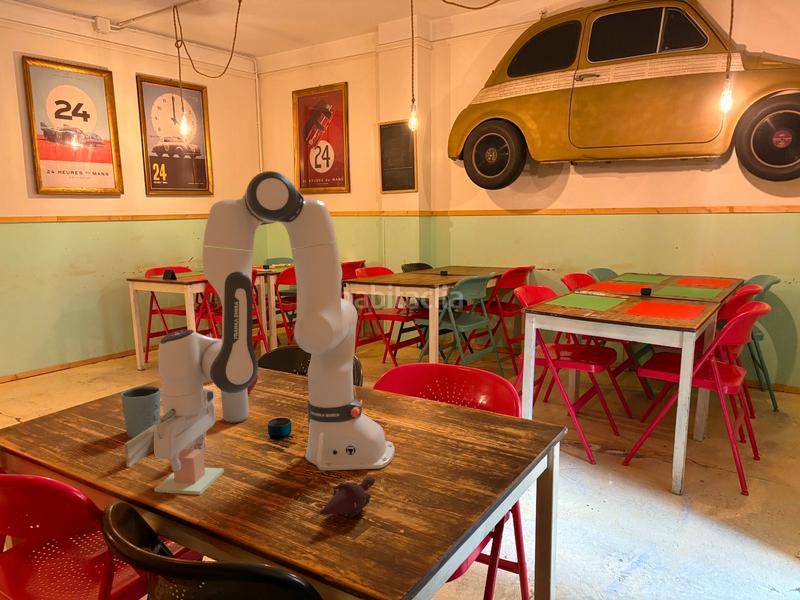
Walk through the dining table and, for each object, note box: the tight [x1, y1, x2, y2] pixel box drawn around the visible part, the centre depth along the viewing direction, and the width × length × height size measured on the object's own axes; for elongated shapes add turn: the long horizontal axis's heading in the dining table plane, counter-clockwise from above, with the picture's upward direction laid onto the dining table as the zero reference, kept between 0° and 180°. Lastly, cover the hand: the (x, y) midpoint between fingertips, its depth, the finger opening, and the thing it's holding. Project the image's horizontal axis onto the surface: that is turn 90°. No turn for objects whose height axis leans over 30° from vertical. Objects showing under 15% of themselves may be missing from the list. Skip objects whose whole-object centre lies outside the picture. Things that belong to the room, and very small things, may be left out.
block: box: [173, 449, 206, 483], centre depth 128 cm, size 5×4×6 cm
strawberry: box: [247, 375, 259, 393], centre depth 191 cm, size 6×8×10 cm
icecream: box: [319, 476, 376, 519], centre depth 113 cm, size 7×7×15 cm
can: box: [220, 388, 250, 424], centre depth 166 cm, size 8×8×12 cm
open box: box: [124, 424, 206, 468], centre depth 142 cm, size 14×13×6 cm
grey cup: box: [120, 385, 161, 439], centre depth 158 cm, size 10×10×12 cm
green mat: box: [154, 467, 225, 496], centre depth 129 cm, size 11×11×1 cm
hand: (189, 460), depth 128 cm, fingers open, 8 cm apart
